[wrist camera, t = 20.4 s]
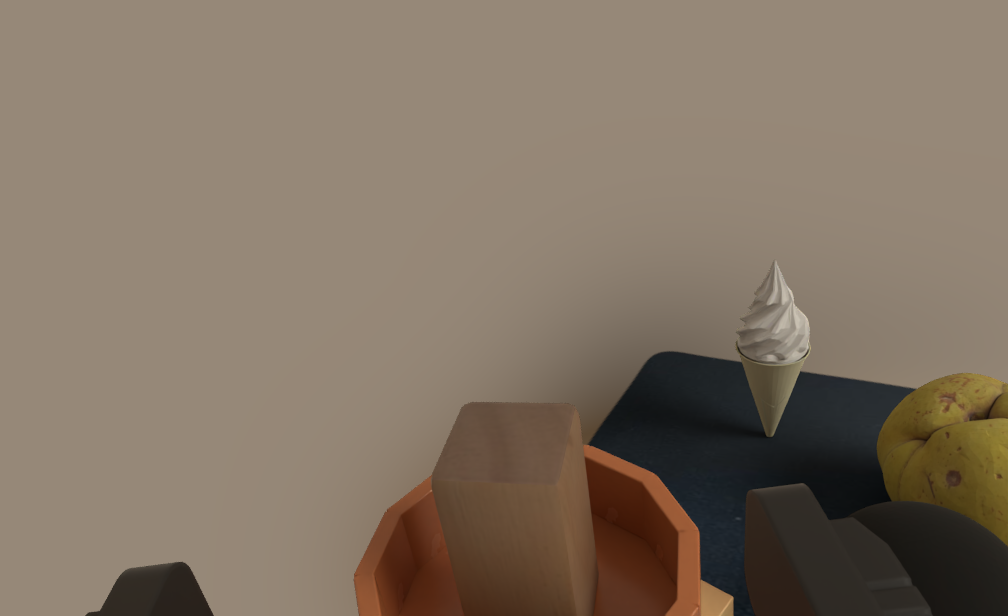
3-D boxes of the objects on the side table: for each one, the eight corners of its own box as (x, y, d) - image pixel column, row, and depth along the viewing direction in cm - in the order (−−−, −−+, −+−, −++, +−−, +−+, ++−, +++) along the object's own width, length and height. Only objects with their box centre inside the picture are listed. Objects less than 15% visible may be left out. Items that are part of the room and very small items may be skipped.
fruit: (1050, 475, 48) (1085, 347, 43) (1119, 626, 38) (1173, 481, 33) (863, 458, 51) (877, 339, 47) (883, 591, 42) (902, 458, 37)
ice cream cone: (729, 450, 54) (728, 272, 47) (741, 410, 58) (743, 240, 51) (800, 463, 52) (811, 277, 45) (808, 420, 56) (820, 244, 49)
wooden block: (600, 573, 27) (579, 398, 23) (587, 672, 23) (560, 485, 20) (497, 565, 28) (461, 396, 24) (470, 659, 24) (423, 479, 21)
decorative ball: (1073, 708, 35) (1126, 562, 30) (919, 813, 32) (951, 669, 27) (897, 567, 43) (918, 435, 38) (763, 639, 40) (767, 507, 36)
